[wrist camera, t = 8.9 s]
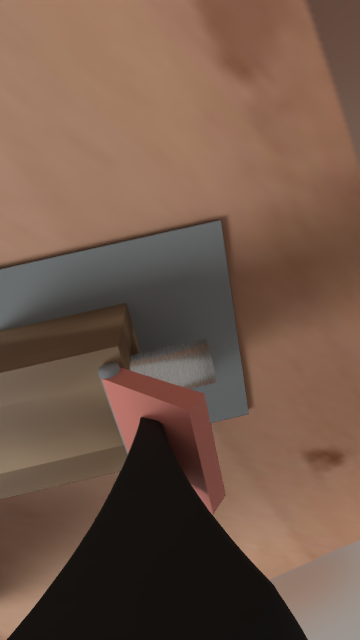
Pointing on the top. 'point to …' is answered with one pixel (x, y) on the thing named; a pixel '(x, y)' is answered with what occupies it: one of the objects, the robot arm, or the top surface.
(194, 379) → the pin
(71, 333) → the block
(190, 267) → the mat
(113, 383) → the strip
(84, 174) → the top surface
